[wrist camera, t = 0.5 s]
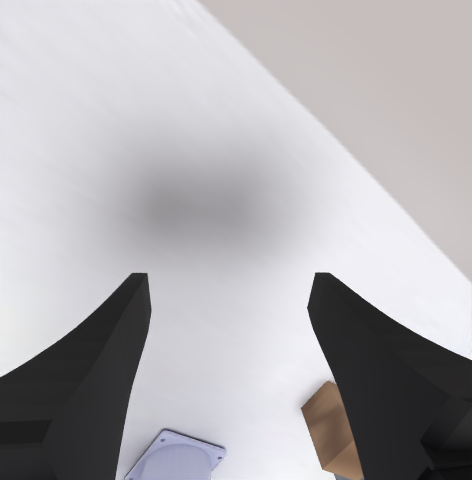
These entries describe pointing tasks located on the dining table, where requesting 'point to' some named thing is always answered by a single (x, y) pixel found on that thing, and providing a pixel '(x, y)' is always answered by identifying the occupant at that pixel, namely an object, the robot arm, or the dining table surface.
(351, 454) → the walnut block
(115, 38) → the dining table surface
